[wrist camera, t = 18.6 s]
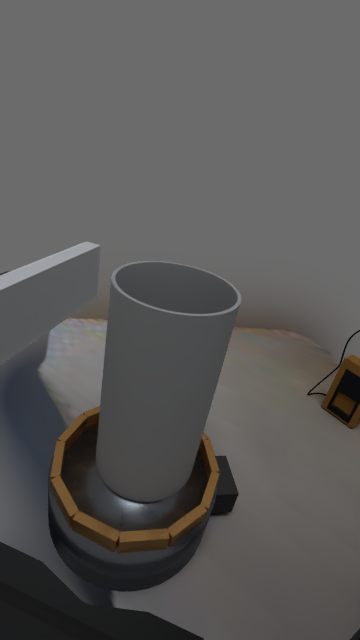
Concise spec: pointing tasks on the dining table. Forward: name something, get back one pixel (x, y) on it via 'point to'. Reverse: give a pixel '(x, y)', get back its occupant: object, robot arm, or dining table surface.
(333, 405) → the multimeter
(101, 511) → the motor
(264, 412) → the dining table surface
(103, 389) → the cylinder vase
